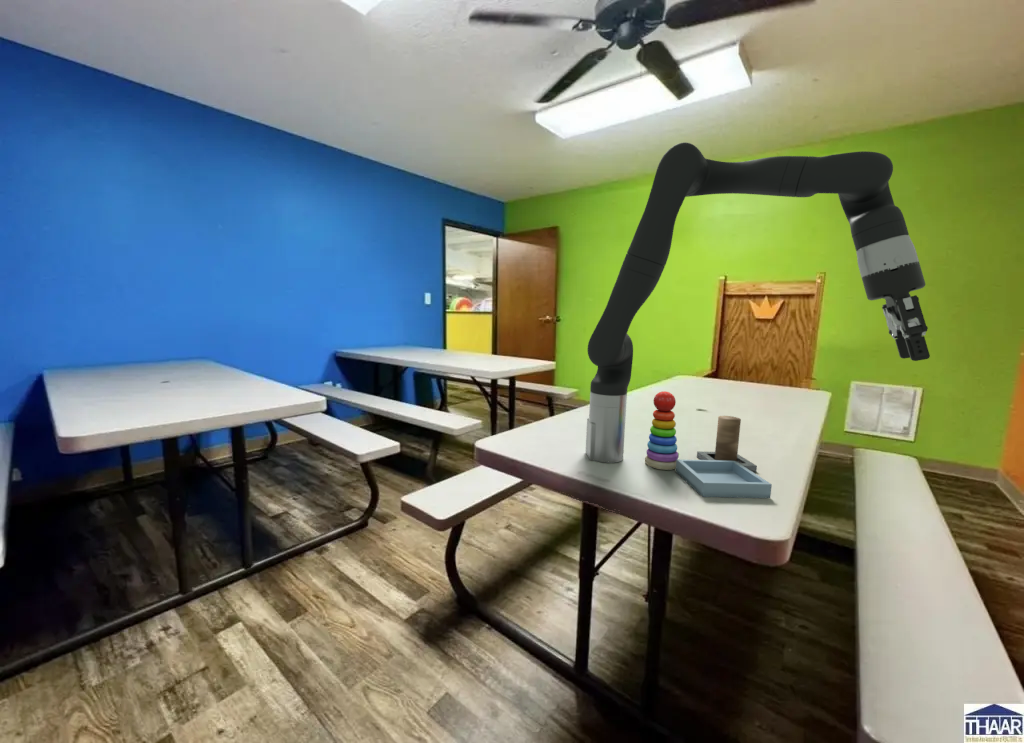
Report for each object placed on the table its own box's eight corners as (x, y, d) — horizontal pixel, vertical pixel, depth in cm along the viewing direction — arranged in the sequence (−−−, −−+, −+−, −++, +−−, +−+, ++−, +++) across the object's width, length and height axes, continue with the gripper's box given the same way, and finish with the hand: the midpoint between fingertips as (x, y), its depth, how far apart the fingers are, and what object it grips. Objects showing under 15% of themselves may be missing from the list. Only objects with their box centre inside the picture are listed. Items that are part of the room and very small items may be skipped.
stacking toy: (651, 457, 107) (656, 387, 105) (682, 464, 102) (688, 391, 100) (639, 465, 101) (644, 391, 99) (672, 473, 96) (678, 395, 94)
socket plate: (715, 470, 99) (715, 464, 99) (696, 456, 109) (697, 451, 109) (756, 471, 99) (756, 465, 99) (734, 457, 109) (734, 452, 109)
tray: (702, 496, 84) (703, 482, 84) (675, 471, 98) (676, 459, 97) (770, 498, 84) (771, 484, 84) (733, 472, 98) (734, 460, 97)
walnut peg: (720, 467, 101) (724, 420, 100) (710, 460, 106) (714, 415, 105) (740, 467, 101) (745, 420, 100) (729, 460, 106) (734, 415, 105)
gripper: (856, 280, 79) (879, 361, 78) (866, 270, 67) (893, 365, 66) (908, 266, 75) (933, 352, 74) (929, 253, 63) (959, 355, 62)
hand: (914, 358), depth 70 cm, fingers open, 8 cm apart
